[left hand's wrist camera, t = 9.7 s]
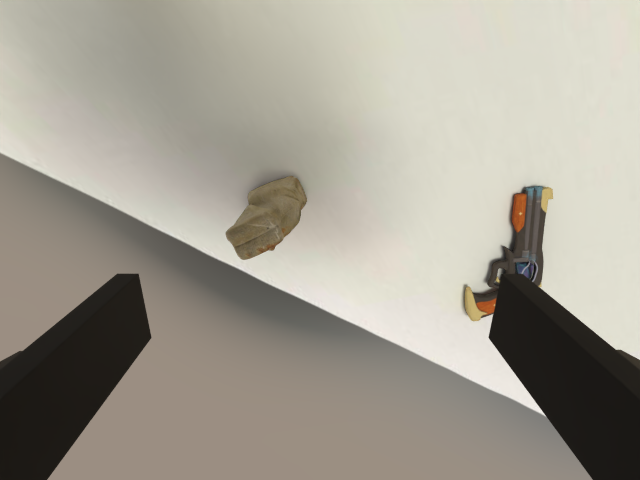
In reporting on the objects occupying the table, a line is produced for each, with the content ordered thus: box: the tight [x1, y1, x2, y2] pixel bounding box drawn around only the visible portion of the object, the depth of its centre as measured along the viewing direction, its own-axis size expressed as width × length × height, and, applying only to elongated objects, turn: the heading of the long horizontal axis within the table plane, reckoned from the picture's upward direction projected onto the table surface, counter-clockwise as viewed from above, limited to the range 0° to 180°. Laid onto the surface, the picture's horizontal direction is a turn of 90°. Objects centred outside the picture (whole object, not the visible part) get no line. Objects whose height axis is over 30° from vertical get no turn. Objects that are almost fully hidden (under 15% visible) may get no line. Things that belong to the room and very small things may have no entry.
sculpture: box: [226, 176, 307, 260], centre depth 39 cm, size 6×7×15 cm
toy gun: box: [465, 186, 553, 321], centre depth 48 cm, size 3×19×10 cm
